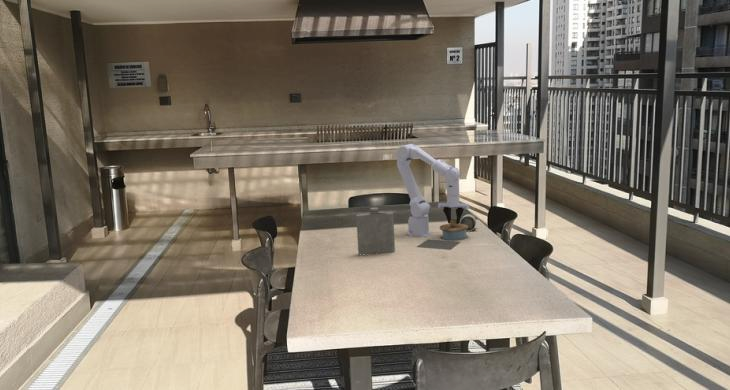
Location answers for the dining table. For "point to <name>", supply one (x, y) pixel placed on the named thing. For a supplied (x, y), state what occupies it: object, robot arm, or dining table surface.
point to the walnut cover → (453, 226)
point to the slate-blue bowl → (454, 235)
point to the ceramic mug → (469, 221)
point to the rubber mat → (438, 244)
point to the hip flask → (375, 232)
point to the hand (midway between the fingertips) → (453, 223)
